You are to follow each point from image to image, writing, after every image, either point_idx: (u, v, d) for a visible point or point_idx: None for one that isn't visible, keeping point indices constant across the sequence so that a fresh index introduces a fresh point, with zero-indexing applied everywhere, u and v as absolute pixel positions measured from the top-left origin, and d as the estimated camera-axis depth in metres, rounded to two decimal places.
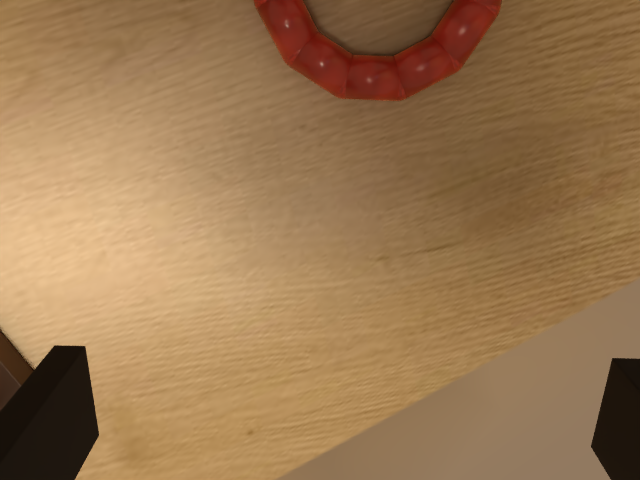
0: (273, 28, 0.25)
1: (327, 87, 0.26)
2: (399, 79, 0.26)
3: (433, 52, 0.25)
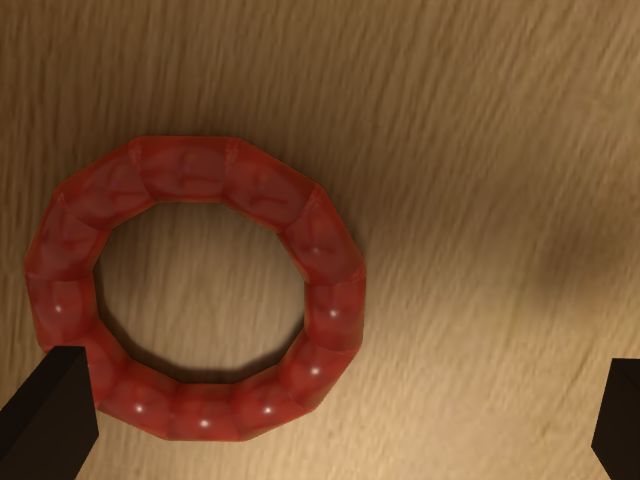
0: None
1: (296, 418, 0.20)
2: (331, 350, 0.18)
3: (322, 299, 0.18)
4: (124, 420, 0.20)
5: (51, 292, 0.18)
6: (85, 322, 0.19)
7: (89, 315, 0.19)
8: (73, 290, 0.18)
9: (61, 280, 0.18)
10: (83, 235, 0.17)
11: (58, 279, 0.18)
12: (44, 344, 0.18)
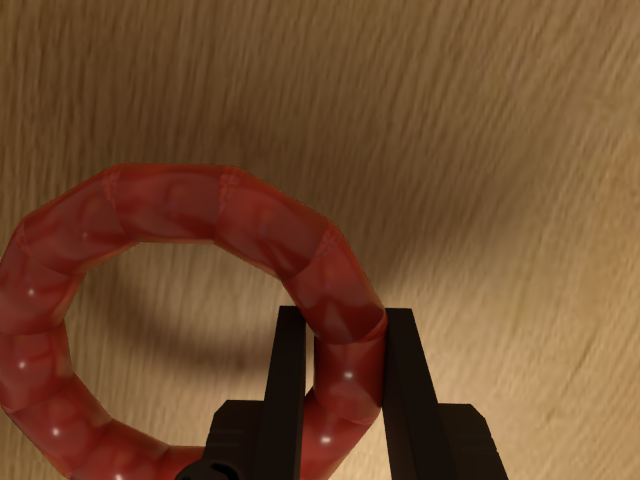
0: None
1: None
2: (346, 418, 0.15)
3: (335, 359, 0.15)
4: None
5: (13, 347, 0.15)
6: (54, 380, 0.16)
7: (59, 372, 0.16)
8: (39, 345, 0.15)
9: (24, 334, 0.15)
10: (49, 282, 0.14)
11: (20, 333, 0.15)
12: (5, 406, 0.16)
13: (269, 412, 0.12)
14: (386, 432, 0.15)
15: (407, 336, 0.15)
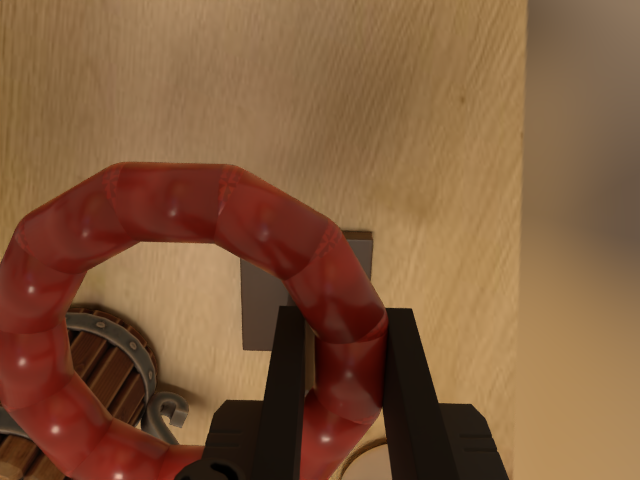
0: None
1: None
2: (346, 418, 0.15)
3: (335, 359, 0.15)
4: None
5: (13, 345, 0.15)
6: (55, 379, 0.16)
7: (60, 370, 0.16)
8: (39, 343, 0.15)
9: (24, 332, 0.15)
10: (49, 281, 0.14)
11: (21, 331, 0.15)
12: (6, 405, 0.16)
13: (268, 412, 0.12)
14: (386, 432, 0.15)
15: (407, 336, 0.15)
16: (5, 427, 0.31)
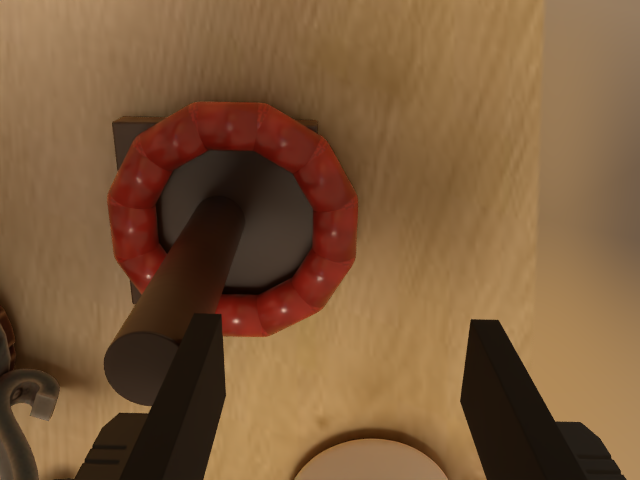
0: (233, 335, 0.27)
1: (306, 317, 0.27)
2: (333, 261, 0.25)
3: (326, 221, 0.24)
4: None
5: (128, 217, 0.24)
6: (151, 241, 0.25)
7: (153, 237, 0.25)
8: (144, 216, 0.25)
9: (136, 207, 0.24)
10: (154, 173, 0.24)
11: (134, 207, 0.24)
12: (121, 257, 0.25)
13: (150, 427, 0.11)
14: (479, 449, 0.14)
15: (502, 349, 0.14)
16: None
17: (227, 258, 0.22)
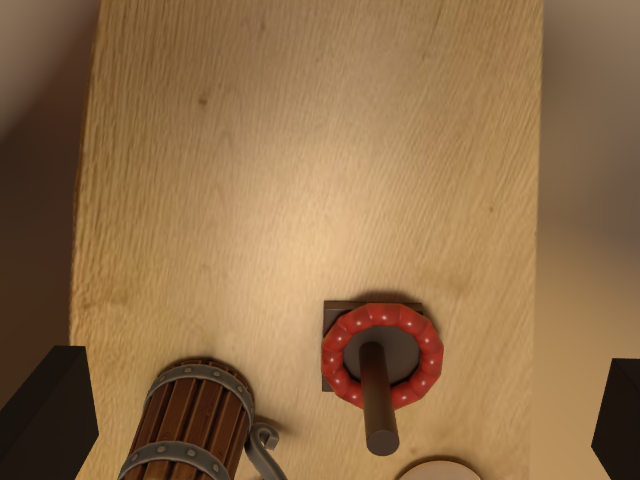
0: None
1: (414, 401, 0.53)
2: (431, 376, 0.51)
3: (429, 358, 0.51)
4: (351, 402, 0.52)
5: (333, 355, 0.51)
6: (341, 366, 0.51)
7: (342, 363, 0.52)
8: (340, 355, 0.51)
9: (337, 352, 0.50)
10: (348, 337, 0.50)
11: (337, 351, 0.50)
12: (327, 374, 0.51)
13: None
14: None
15: None
16: (174, 456, 0.43)
17: (389, 383, 0.48)
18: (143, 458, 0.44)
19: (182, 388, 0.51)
